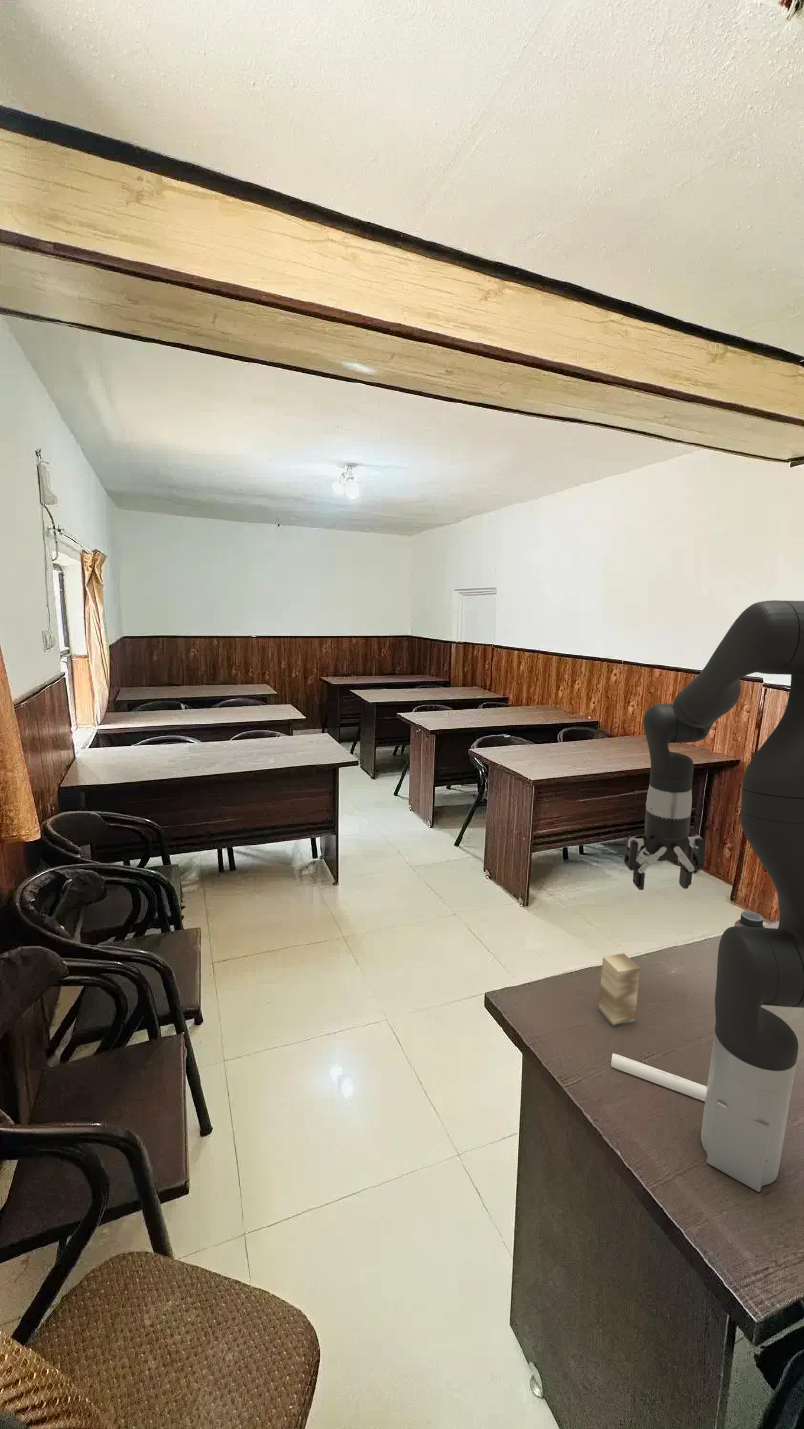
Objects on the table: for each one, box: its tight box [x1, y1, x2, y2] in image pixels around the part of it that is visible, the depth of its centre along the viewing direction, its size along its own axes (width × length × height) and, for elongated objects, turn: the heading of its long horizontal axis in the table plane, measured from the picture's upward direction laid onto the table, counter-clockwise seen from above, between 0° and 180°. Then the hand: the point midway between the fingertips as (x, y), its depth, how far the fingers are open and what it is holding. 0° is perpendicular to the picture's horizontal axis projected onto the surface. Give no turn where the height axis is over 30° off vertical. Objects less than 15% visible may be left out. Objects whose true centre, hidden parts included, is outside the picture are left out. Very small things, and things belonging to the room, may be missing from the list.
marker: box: [610, 1052, 707, 1103], centre depth 87 cm, size 18×2×2 cm, turn 62°
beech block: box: [598, 953, 641, 1028], centre depth 101 cm, size 4×4×11 cm
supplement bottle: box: [734, 910, 766, 928], centre depth 117 cm, size 6×6×11 cm
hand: (661, 887), depth 107 cm, fingers open, 8 cm apart
